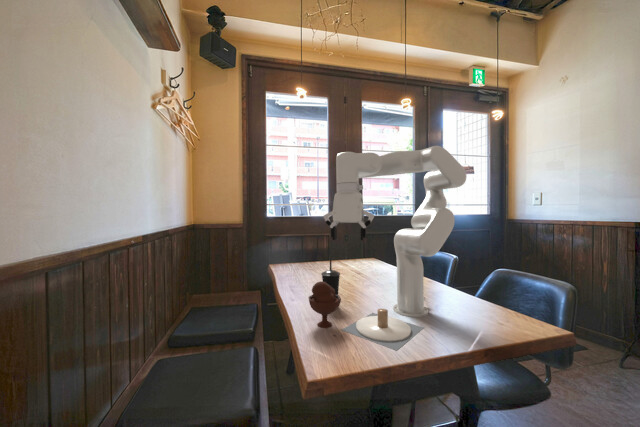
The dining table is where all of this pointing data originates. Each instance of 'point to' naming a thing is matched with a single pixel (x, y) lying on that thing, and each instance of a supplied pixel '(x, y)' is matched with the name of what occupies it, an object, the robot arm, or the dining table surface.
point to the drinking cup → (331, 278)
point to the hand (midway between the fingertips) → (348, 239)
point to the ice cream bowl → (324, 302)
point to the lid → (383, 327)
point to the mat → (393, 344)
